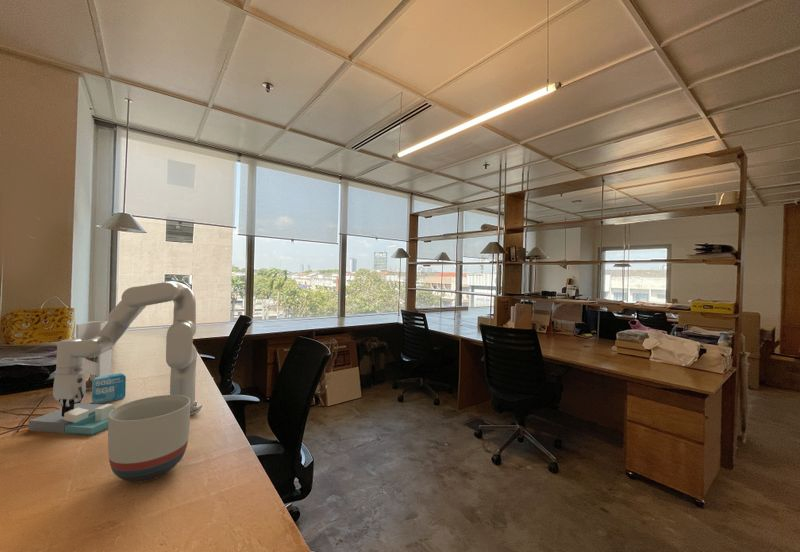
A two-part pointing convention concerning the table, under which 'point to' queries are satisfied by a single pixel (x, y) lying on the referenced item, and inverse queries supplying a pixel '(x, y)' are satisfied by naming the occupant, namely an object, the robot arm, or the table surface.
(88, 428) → the box
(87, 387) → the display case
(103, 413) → the beige block
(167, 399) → the planter
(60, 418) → the plate
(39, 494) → the table surface
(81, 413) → the beige block
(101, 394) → the data package
